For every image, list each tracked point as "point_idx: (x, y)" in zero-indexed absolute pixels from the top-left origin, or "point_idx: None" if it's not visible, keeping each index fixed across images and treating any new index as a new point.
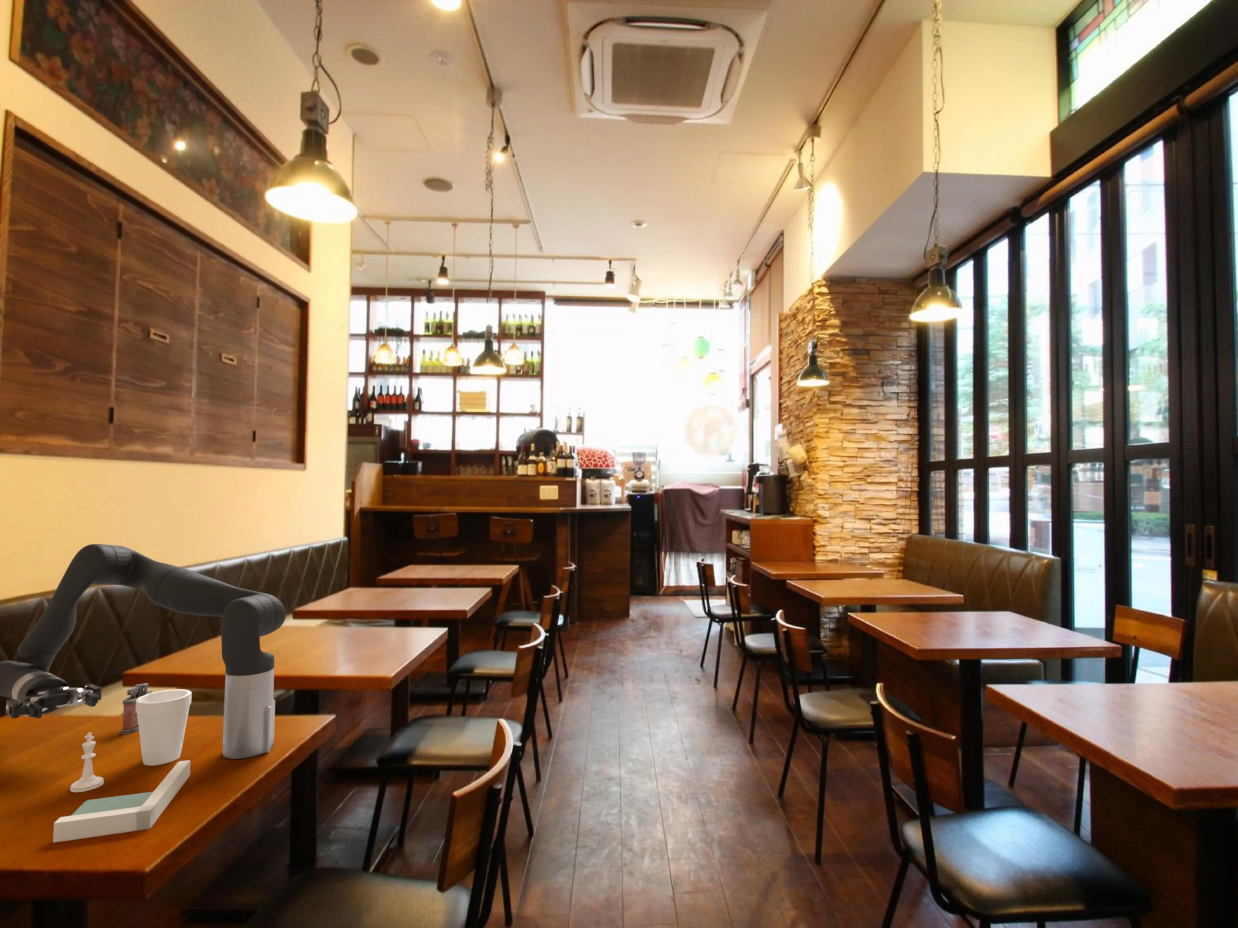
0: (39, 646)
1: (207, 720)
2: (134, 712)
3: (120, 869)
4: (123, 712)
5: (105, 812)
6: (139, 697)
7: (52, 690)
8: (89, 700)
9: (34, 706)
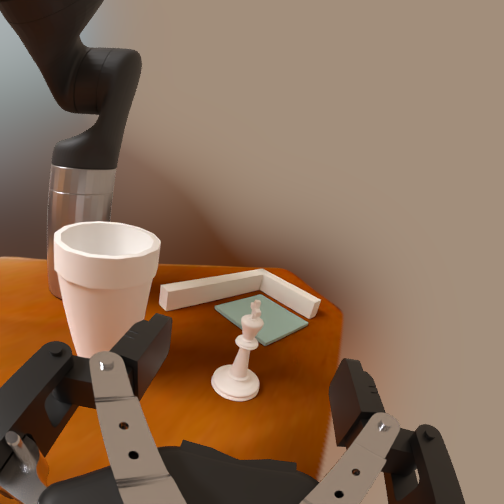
0: None
1: None
2: None
3: (294, 274)
4: None
5: (286, 285)
6: (118, 258)
7: None
8: (160, 348)
9: (365, 383)
